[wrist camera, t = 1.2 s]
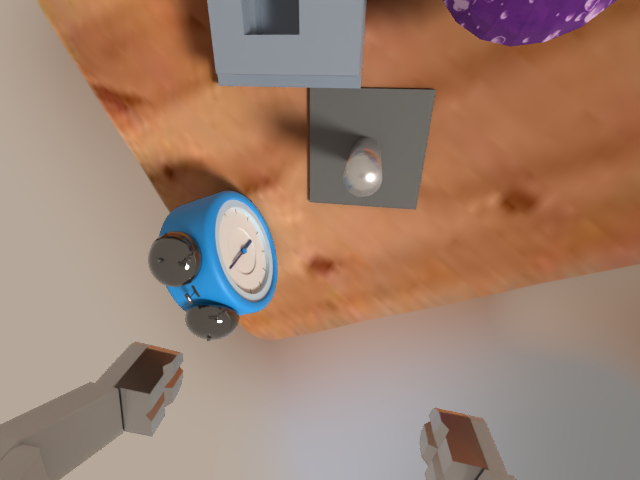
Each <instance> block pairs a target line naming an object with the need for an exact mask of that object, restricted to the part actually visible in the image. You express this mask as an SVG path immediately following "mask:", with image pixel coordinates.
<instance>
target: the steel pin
mask: <svg viewBox="0 0 640 480" xmlns="http://www.w3.org/2000/svg"><path fill="white" fill-rule="evenodd" d="M343 183H344V186H345V188H346V189H347V190H348V191H349V192H350V193H351V194H353V195H355V196H358V197H366V196H370V195H372V194H373V193H375V192H376V191H377V190H378V189H379V187H380V185H381V183H382V165H381V150H380V146H379V144H378V142H377V141H376V140H374V139H373V138H370V137H364V138H361V139H359V140H357V141H356V142H355V144H354V145H353V147H352V150H351V153H350V156H349V159H348V162H347V164H346V167H345V170H344V173H343Z"/></svg>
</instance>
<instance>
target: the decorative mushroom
mask: <svg viewBox="0 0 640 480" xmlns="http://www.w3.org/2000/svg"><path fill="white" fill-rule="evenodd" d="M615 1H616V0H443V2H444V3H445V5H446V7H447V8H448V10H449V11H450V13H451V15H452V16H453V18H454V19H455V21H456V22H457V23H459V24H460V25H461V26H463V27H464V28H465V29H467V30H468V31H470V32H471V33H472V34H474V35H475V36H477V37H478V38H479V39H481V40H485V41H490V42H494V43H498V44H503V45H507V46H517V45H525V44H533V43H541V42H546V41H548V40H551V39H553V38H556V37H558V36H561V35H563V34H565V33H568V32H570V31H573V30H575V29H578V28H580V27H582V26H583V25H585V24H586V23H587V22H588V21H590V20H591V19H592V18H594V17H595V16H596V15H598V14H599V13H600V12H602V11H603V10H604V9H606V8H607V7H608V6H609V5H611V4H612V3H613V2H615Z"/></svg>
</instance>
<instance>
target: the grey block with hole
mask: <svg viewBox="0 0 640 480" xmlns="http://www.w3.org/2000/svg"><path fill="white" fill-rule="evenodd" d="M207 4H208V12H209V20H210V28H211V37H212V45H213V53H214V61H215V70H216V74H217V75H218V83H219V86H259V87H308V88H358V89H360V88H361V79H362V64H363V49H364V34H365V19H366V5H367V0H207Z"/></svg>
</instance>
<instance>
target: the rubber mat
mask: <svg viewBox="0 0 640 480" xmlns="http://www.w3.org/2000/svg"><path fill="white" fill-rule="evenodd" d="M435 92H436V90H426V89H376V88H360V89H358V88H310V202H316V203H330V204H344V205H359V206H373V207H387V208H401V209H416V206H417V200H418V194H419V188H420V182H421V176H422V170H423V164H424V158H425V152H426V146H427V140H428V134H429V128H430V122H431V116H432V110H433V104H434V98H435ZM364 137H370V138H373V139H374V140H376V141H377V142H378V144H379V146H380V150H381V165H382V183H381V185H380V187H379V189H378V190H377V191H376V192H375V193H373V194H372V195H370V196H366V197H358V196H355V195H353V194H351V193H350V192H349V191H348V190H347V189H346V188H345V186H344V183H343V173H344V170H345V167H346V164H347V162H348V159H349V156H350V153H351V150H352V147H353V145H354V144H355V142H356V141H357V140H359V139H361V138H364Z"/></svg>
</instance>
